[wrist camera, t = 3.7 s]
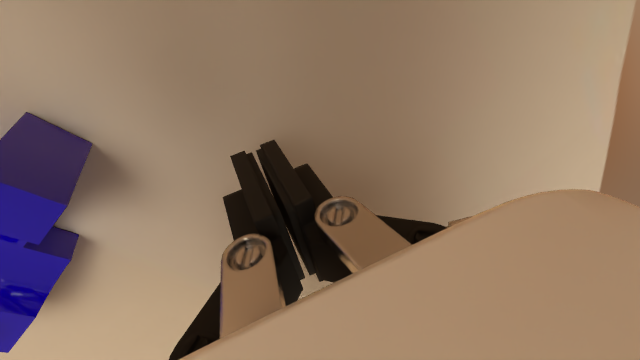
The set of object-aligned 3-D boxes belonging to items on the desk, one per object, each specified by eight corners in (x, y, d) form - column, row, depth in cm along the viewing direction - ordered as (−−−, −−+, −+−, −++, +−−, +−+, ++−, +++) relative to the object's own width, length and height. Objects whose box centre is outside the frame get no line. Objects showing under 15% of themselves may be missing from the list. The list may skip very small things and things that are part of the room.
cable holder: (29, 299, 14) (-9, 393, 11) (-85, 278, 12) (-172, 388, 9) (133, 163, 13) (124, 225, 10) (26, 111, 11) (-31, 171, 7)
